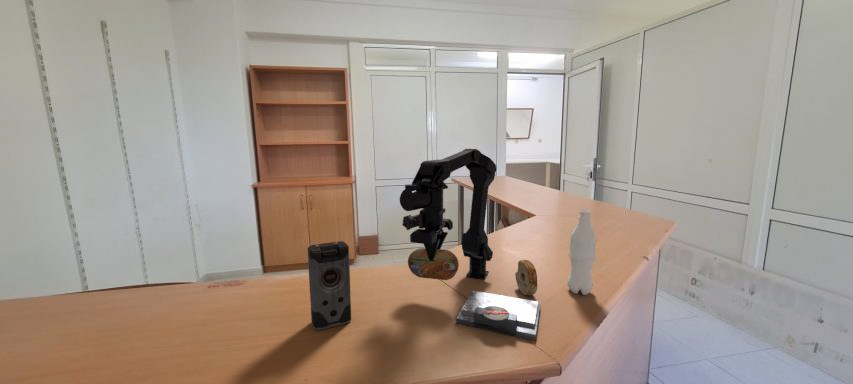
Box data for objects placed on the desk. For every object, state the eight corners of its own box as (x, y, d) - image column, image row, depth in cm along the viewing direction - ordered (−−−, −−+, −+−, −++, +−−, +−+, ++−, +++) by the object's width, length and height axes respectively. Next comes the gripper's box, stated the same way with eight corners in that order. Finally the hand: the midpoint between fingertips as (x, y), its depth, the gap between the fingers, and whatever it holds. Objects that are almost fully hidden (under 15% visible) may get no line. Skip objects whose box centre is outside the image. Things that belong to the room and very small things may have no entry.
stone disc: (539, 300, 95) (541, 267, 94) (526, 301, 95) (528, 267, 93) (525, 285, 105) (526, 255, 104) (514, 285, 105) (515, 255, 104)
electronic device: (314, 332, 79) (310, 252, 76) (310, 320, 84) (306, 245, 81) (352, 322, 83) (350, 246, 80) (347, 312, 88) (344, 240, 86)
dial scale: (472, 296, 97) (472, 282, 97) (539, 308, 90) (540, 293, 89) (453, 327, 81) (454, 310, 80) (534, 345, 74) (535, 326, 73)
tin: (408, 276, 98) (406, 249, 96) (413, 271, 100) (410, 245, 99) (457, 282, 92) (455, 253, 90) (460, 277, 95) (459, 249, 93)
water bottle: (566, 294, 99) (572, 212, 95) (566, 285, 105) (571, 208, 102) (593, 298, 96) (600, 214, 93) (591, 288, 103) (597, 210, 99)
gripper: (419, 198, 104) (420, 246, 107) (391, 209, 87) (392, 266, 89) (453, 201, 100) (453, 250, 102) (431, 213, 83) (431, 272, 85)
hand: (433, 259), depth 95 cm, fingers closed on tin, 3 cm apart
